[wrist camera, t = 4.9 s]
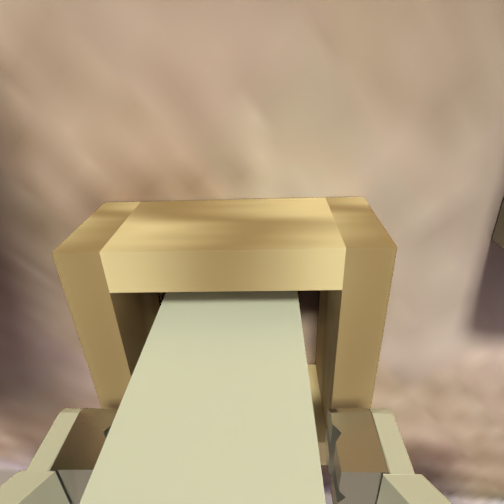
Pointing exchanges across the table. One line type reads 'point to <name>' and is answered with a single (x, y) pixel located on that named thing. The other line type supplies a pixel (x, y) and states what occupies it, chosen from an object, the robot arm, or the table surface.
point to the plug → (215, 408)
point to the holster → (232, 281)
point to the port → (499, 228)
